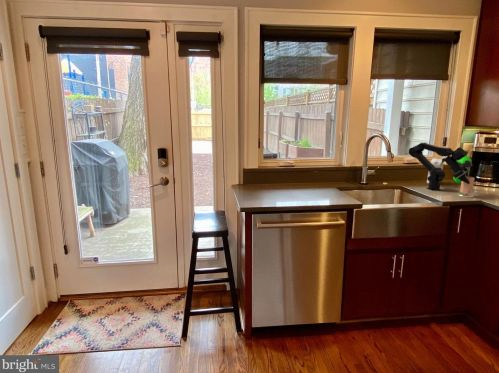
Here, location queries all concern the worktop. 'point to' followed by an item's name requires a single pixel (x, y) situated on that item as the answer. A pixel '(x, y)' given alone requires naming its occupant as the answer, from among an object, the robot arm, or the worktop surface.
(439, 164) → the milk carton
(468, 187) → the terracotta pot
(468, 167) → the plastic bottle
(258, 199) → the worktop surface
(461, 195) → the silver pot lid
